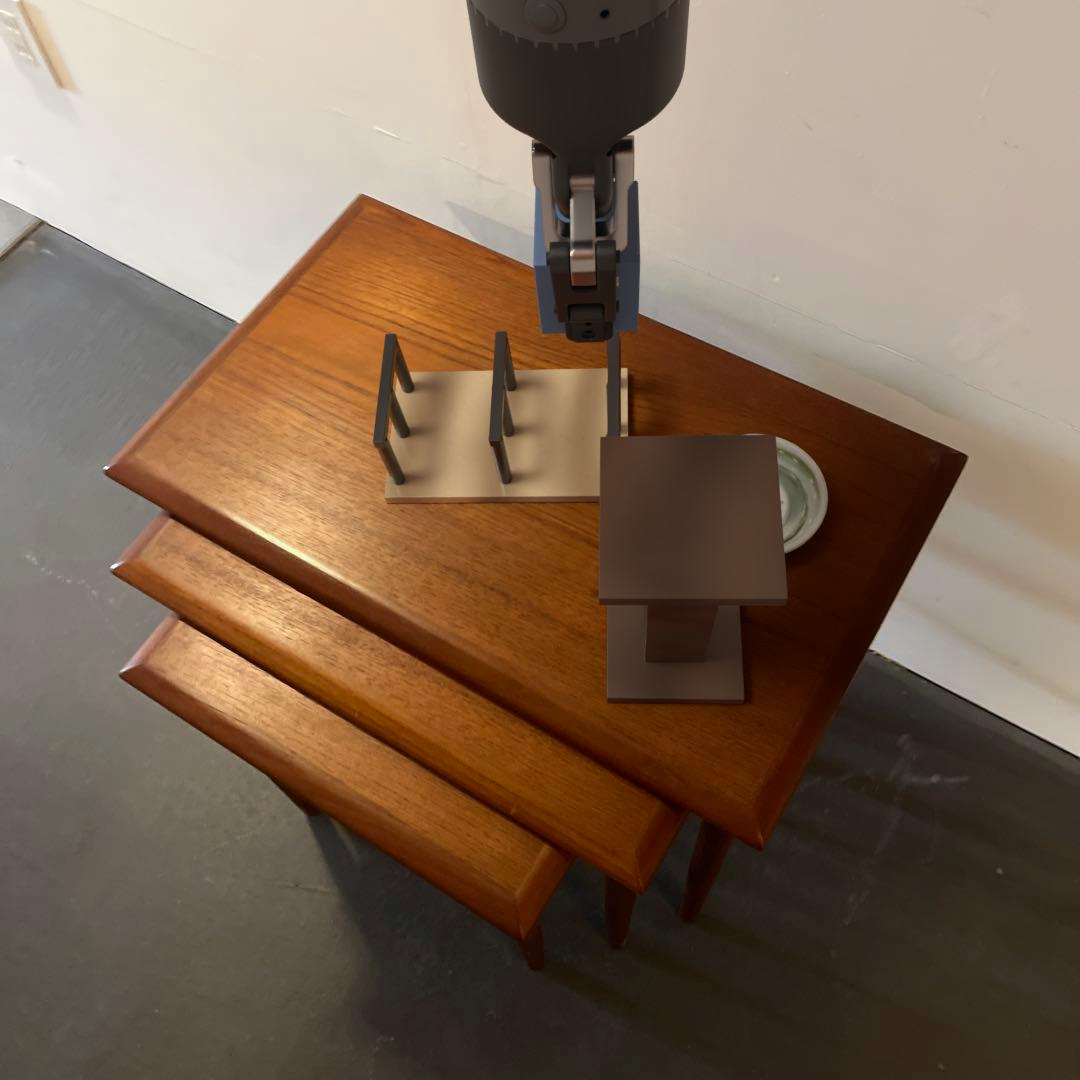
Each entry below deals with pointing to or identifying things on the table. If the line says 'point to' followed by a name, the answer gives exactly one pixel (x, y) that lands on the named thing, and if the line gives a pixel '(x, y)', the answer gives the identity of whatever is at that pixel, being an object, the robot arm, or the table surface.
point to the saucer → (799, 494)
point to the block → (625, 270)
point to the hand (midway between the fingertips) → (589, 288)
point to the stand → (686, 561)
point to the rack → (497, 429)
